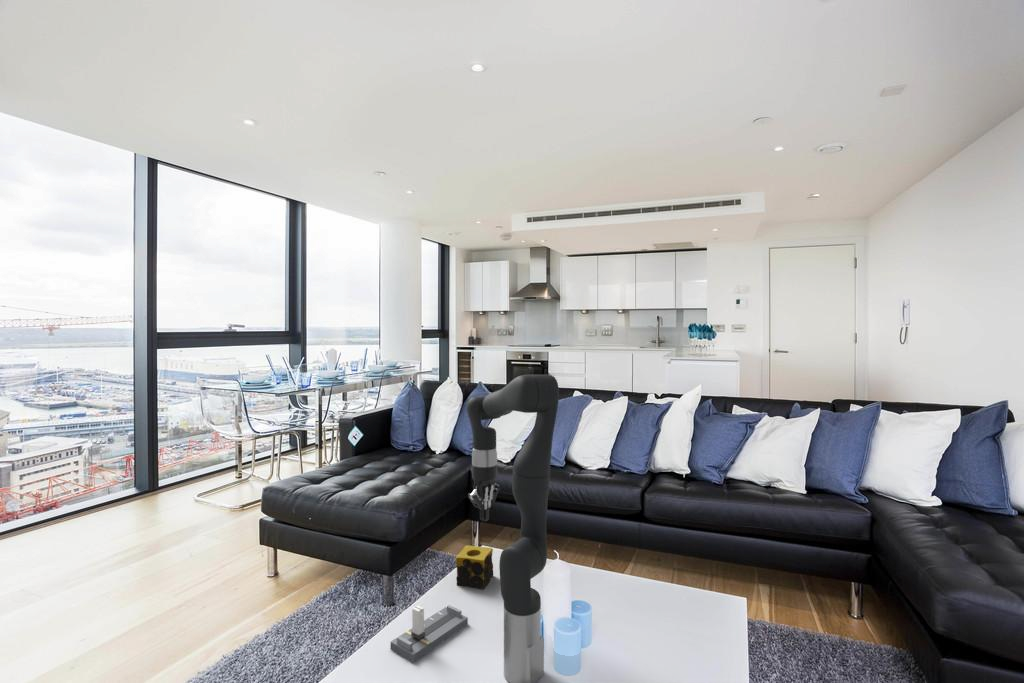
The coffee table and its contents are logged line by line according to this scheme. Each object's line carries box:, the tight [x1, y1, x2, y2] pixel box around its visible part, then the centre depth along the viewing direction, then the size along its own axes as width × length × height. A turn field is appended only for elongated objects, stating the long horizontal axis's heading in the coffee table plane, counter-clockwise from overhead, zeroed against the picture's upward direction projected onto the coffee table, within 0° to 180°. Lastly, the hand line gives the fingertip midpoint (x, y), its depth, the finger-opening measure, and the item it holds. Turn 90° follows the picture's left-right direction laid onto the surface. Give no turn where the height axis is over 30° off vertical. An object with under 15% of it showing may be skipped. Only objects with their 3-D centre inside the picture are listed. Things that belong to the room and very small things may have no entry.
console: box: [390, 604, 469, 663], centre depth 141 cm, size 9×21×4 cm, turn 143°
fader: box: [411, 605, 425, 639], centre depth 138 cm, size 3×2×8 cm
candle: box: [455, 545, 494, 590], centre depth 172 cm, size 10×10×10 cm
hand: (484, 520), depth 151 cm, fingers closed
